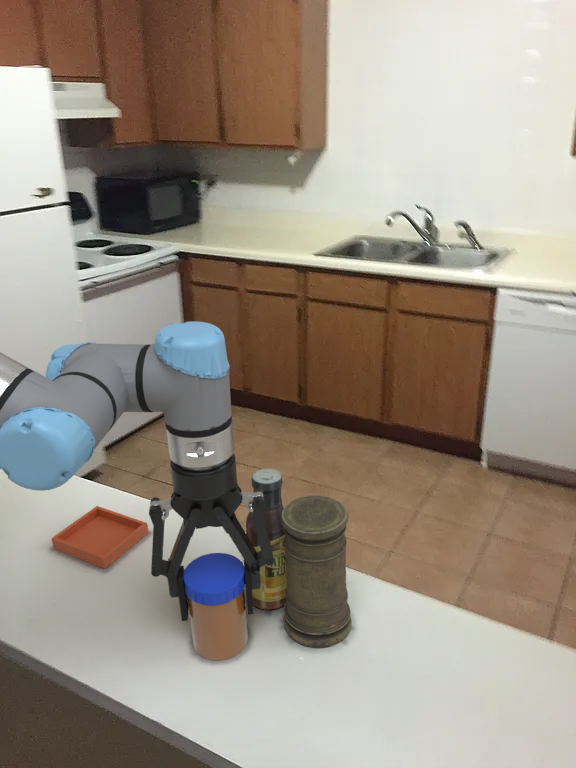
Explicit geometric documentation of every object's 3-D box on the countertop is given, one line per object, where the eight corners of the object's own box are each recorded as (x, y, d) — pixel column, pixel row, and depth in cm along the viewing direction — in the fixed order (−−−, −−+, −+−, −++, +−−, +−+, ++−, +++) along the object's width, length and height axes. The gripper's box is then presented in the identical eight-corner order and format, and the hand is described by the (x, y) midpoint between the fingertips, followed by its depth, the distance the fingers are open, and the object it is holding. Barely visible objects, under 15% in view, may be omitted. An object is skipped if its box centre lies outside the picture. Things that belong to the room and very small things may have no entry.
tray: (53, 548, 107) (51, 538, 106) (98, 515, 115) (96, 505, 115) (105, 569, 102) (103, 558, 101) (148, 533, 110) (147, 522, 109)
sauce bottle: (271, 619, 91) (264, 495, 83) (239, 598, 95) (229, 479, 87) (302, 594, 96) (298, 474, 88) (271, 575, 99) (264, 459, 92)
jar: (191, 662, 85) (183, 597, 80) (194, 621, 91) (187, 559, 87) (248, 658, 85) (243, 593, 81) (247, 617, 92) (242, 555, 87)
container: (361, 639, 87) (362, 525, 80) (295, 656, 85) (290, 540, 78) (337, 594, 95) (336, 486, 88) (276, 609, 93) (270, 499, 86)
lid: (182, 608, 81) (181, 596, 80) (185, 567, 88) (184, 555, 87) (247, 602, 81) (246, 590, 80) (244, 561, 88) (243, 549, 88)
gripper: (107, 480, 73) (134, 640, 82) (294, 464, 74) (300, 622, 84) (116, 447, 80) (140, 598, 89) (287, 433, 81) (293, 582, 90)
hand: (217, 609), depth 86 cm, fingers closed on lid, 8 cm apart
